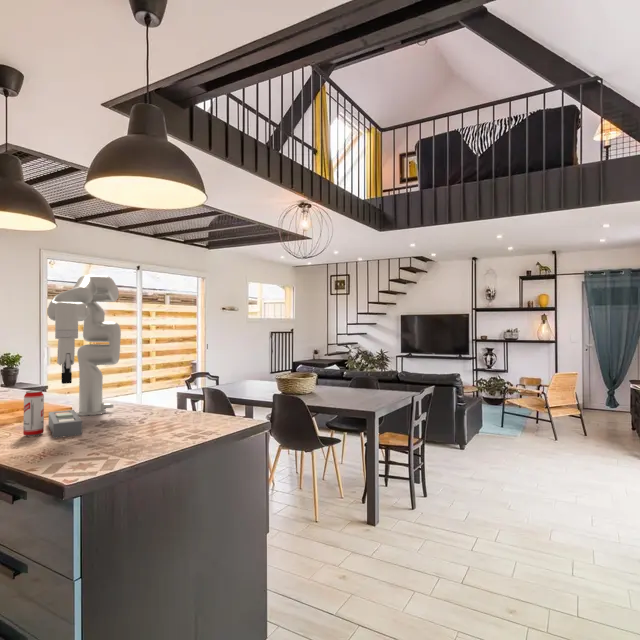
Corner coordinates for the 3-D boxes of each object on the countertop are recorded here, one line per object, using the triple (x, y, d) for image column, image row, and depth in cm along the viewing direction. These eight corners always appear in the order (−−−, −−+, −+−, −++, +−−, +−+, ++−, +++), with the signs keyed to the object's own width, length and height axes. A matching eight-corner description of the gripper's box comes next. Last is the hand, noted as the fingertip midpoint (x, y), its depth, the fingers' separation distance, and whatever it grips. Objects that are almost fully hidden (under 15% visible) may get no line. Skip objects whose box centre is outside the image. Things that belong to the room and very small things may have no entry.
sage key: (71, 419, 177) (71, 412, 177) (72, 421, 173) (72, 414, 173) (56, 420, 174) (56, 413, 174) (57, 422, 170) (57, 416, 170)
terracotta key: (69, 418, 184) (69, 411, 184) (70, 420, 180) (70, 413, 180) (54, 419, 181) (54, 413, 181) (55, 421, 177) (55, 415, 177)
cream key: (73, 425, 171) (73, 418, 171) (74, 427, 166) (74, 420, 167) (58, 426, 168) (58, 419, 168) (59, 429, 164) (59, 422, 164)
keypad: (73, 421, 187) (73, 409, 187) (81, 434, 165) (82, 420, 165) (48, 424, 182) (48, 412, 182) (53, 437, 160) (53, 423, 160)
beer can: (41, 432, 169) (41, 389, 169) (45, 435, 164) (46, 391, 165) (21, 435, 164) (22, 391, 165) (25, 438, 160) (26, 392, 160)
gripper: (53, 334, 174) (53, 381, 174) (57, 335, 161) (56, 386, 162) (75, 333, 178) (75, 380, 178) (80, 335, 166) (80, 385, 166)
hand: (66, 383), depth 170 cm, fingers closed
